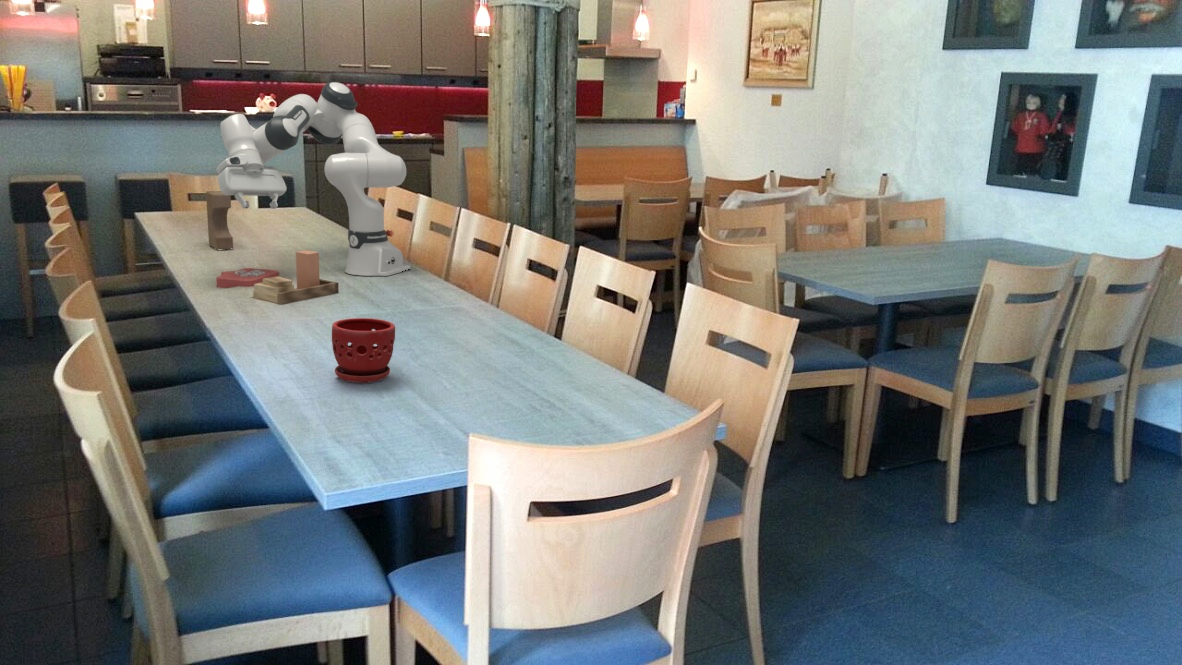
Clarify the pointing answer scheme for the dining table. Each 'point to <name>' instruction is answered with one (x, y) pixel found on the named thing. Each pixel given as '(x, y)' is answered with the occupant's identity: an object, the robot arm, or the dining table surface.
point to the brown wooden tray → (307, 292)
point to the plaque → (244, 277)
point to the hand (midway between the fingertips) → (260, 207)
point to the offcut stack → (272, 288)
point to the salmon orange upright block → (307, 269)
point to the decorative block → (218, 220)
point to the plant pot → (362, 349)
